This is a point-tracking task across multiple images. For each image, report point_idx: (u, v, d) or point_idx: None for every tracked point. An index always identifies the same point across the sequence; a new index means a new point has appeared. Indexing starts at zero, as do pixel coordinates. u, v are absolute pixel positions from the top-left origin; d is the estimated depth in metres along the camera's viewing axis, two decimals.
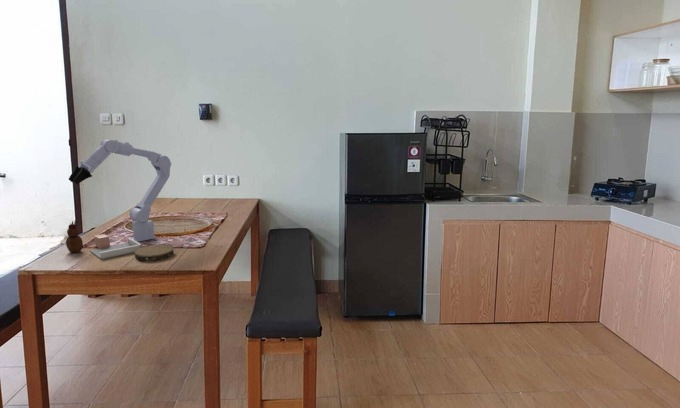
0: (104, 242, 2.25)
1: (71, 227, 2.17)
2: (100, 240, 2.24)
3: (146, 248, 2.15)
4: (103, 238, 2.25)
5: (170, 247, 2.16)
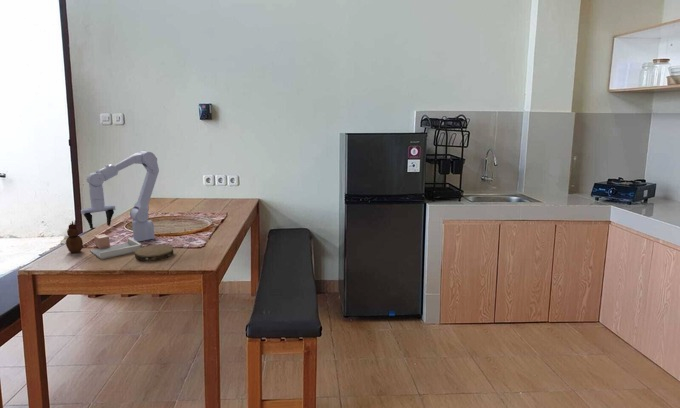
0: (104, 242, 2.25)
1: (71, 227, 2.17)
2: (100, 240, 2.24)
3: (146, 248, 2.15)
4: (103, 238, 2.25)
5: (170, 247, 2.16)
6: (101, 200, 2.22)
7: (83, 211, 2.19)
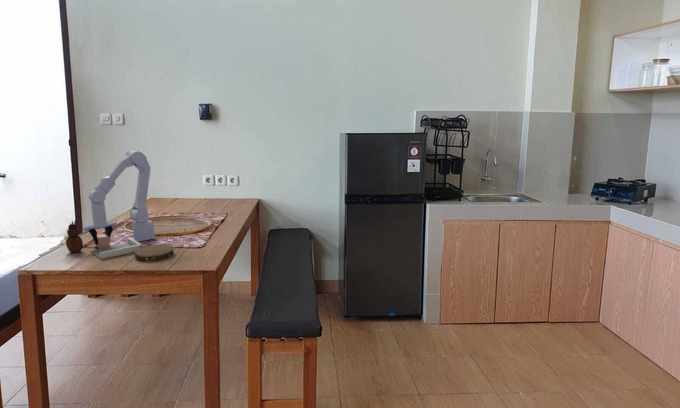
0: (104, 242, 2.25)
1: (71, 227, 2.17)
2: (100, 240, 2.24)
3: (146, 248, 2.15)
4: (103, 238, 2.25)
5: (170, 247, 2.16)
6: (103, 217, 2.24)
7: (85, 228, 2.21)
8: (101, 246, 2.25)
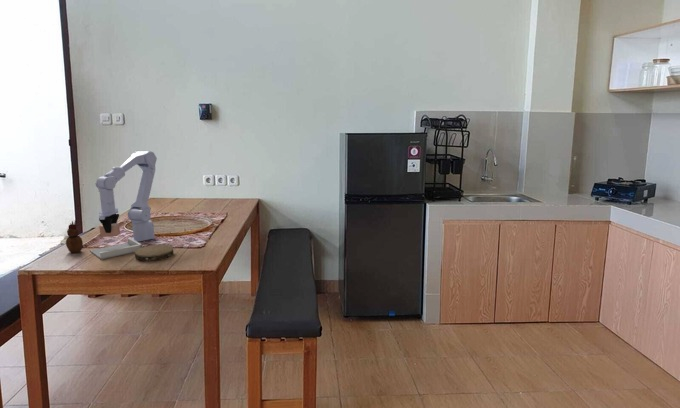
0: (117, 229, 2.22)
1: (71, 227, 2.17)
2: (115, 227, 2.21)
3: (146, 248, 2.15)
4: (116, 225, 2.22)
5: (170, 247, 2.16)
6: (114, 203, 2.21)
7: (104, 216, 2.14)
8: (116, 234, 2.21)
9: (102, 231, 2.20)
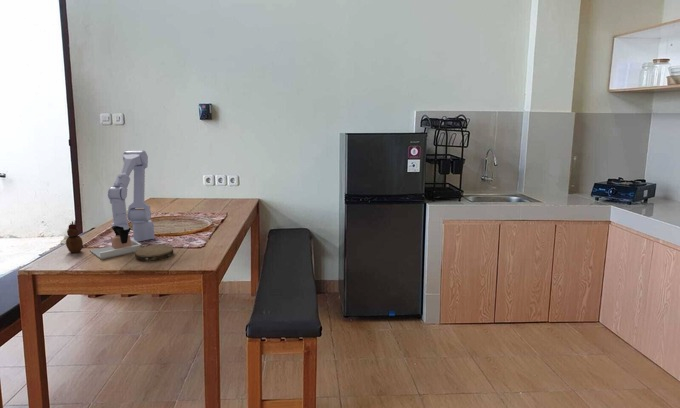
0: None
1: (71, 227, 2.17)
2: None
3: (146, 248, 2.15)
4: None
5: (170, 247, 2.16)
6: None
7: None
8: None
9: (117, 243, 2.16)
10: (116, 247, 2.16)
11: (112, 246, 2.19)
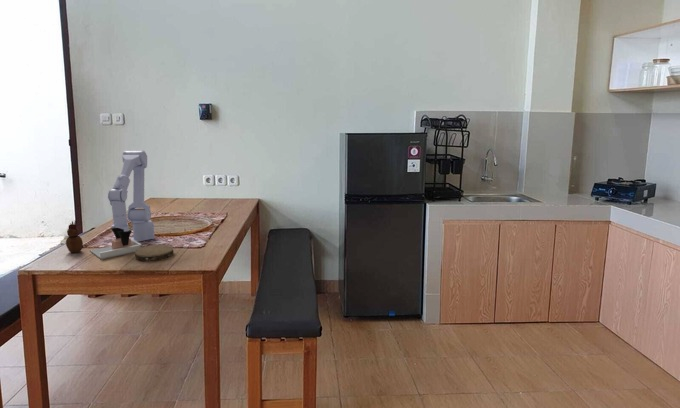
0: None
1: (71, 227, 2.17)
2: None
3: (146, 248, 2.15)
4: None
5: (170, 247, 2.16)
6: None
7: None
8: None
9: (118, 246, 2.17)
10: None
11: (112, 249, 2.19)
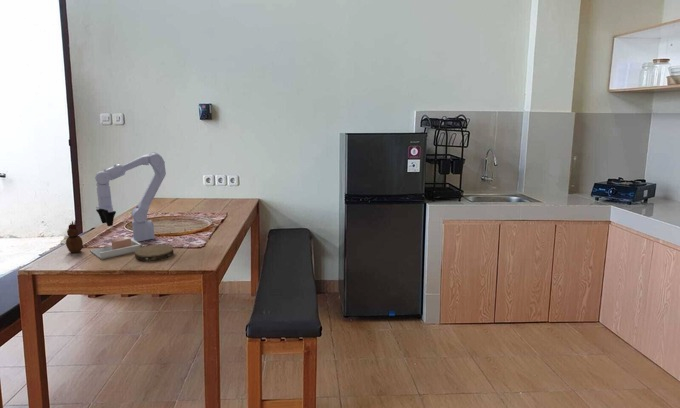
0: None
1: (71, 227, 2.17)
2: None
3: (146, 248, 2.15)
4: None
5: (170, 247, 2.16)
6: None
7: None
8: None
9: (118, 246, 2.17)
10: None
11: (112, 249, 2.19)
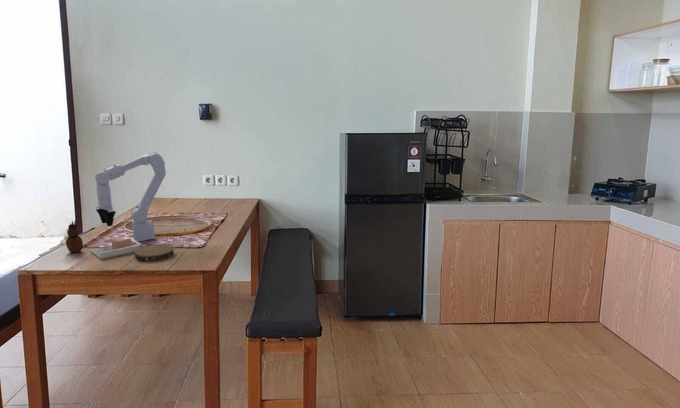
0: None
1: (71, 227, 2.17)
2: None
3: (146, 248, 2.15)
4: None
5: (170, 247, 2.16)
6: None
7: None
8: None
9: (118, 246, 2.17)
10: None
11: (112, 249, 2.19)
